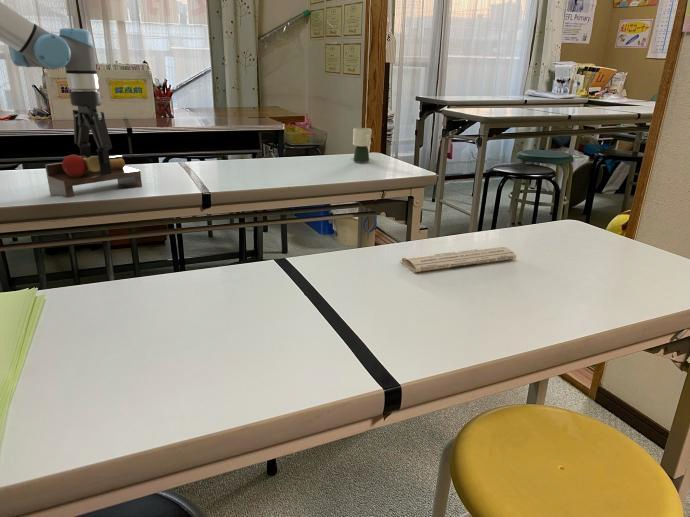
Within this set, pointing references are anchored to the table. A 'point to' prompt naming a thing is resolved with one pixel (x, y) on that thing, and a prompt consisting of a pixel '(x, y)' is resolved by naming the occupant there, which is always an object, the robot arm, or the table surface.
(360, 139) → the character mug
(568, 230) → the table surface
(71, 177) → the shelf
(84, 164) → the kendama
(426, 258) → the newspaper
